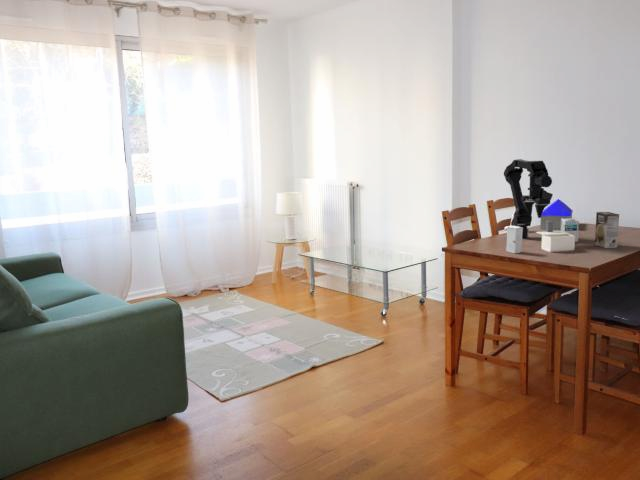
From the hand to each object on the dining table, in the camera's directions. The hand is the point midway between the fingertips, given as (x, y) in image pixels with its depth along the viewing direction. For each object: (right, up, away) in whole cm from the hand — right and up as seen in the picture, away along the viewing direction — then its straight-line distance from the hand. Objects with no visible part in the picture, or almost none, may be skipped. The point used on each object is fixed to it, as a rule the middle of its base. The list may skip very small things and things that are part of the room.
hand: (534, 216), depth 289 cm
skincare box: (-17, -18, -21) cm, 32 cm away
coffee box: (+29, -15, -14) cm, 36 cm away
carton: (+4, -16, -19) cm, 26 cm away
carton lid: (+3, -9, -16) cm, 18 cm away
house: (+31, -4, +48) cm, 57 cm away
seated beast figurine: (+2, -7, +37) cm, 38 cm away
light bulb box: (+19, -12, +3) cm, 23 cm away
